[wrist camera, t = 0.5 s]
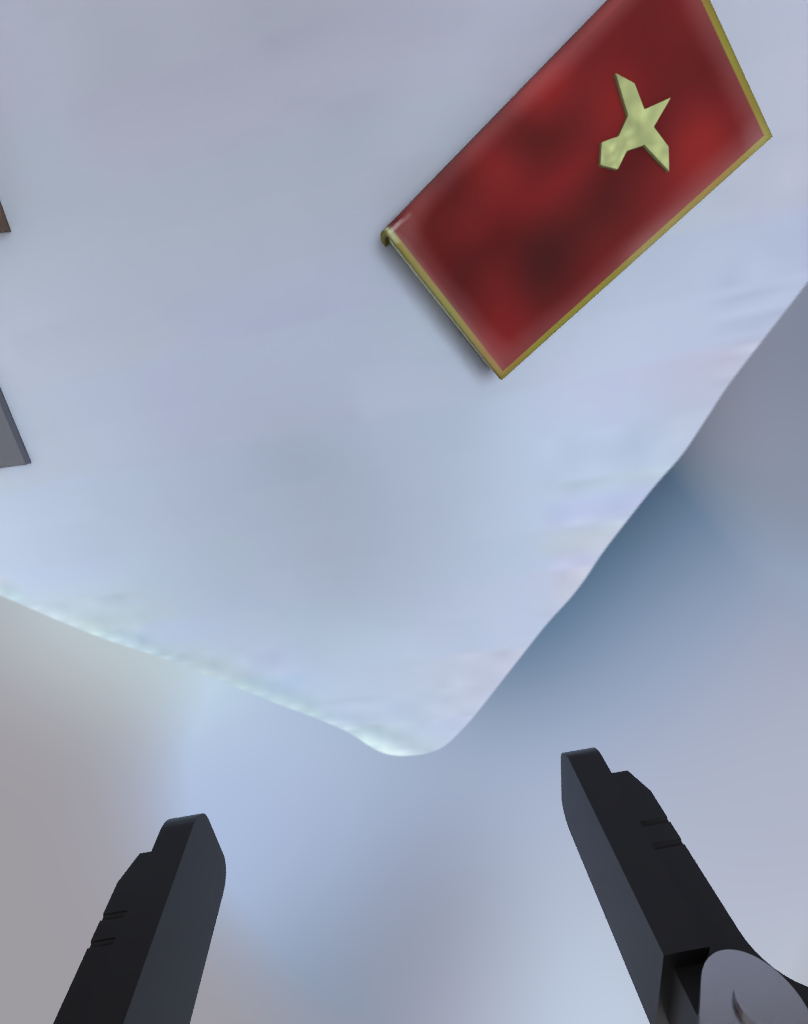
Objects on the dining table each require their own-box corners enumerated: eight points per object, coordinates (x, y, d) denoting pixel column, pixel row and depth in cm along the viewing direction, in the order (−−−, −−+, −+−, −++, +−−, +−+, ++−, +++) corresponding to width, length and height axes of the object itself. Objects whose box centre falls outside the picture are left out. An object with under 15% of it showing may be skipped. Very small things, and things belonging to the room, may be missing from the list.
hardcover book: (379, 241, 31) (381, 225, 27) (633, -20, 28) (678, -81, 24) (487, 376, 35) (503, 380, 31) (724, 161, 31) (776, 134, 27)
